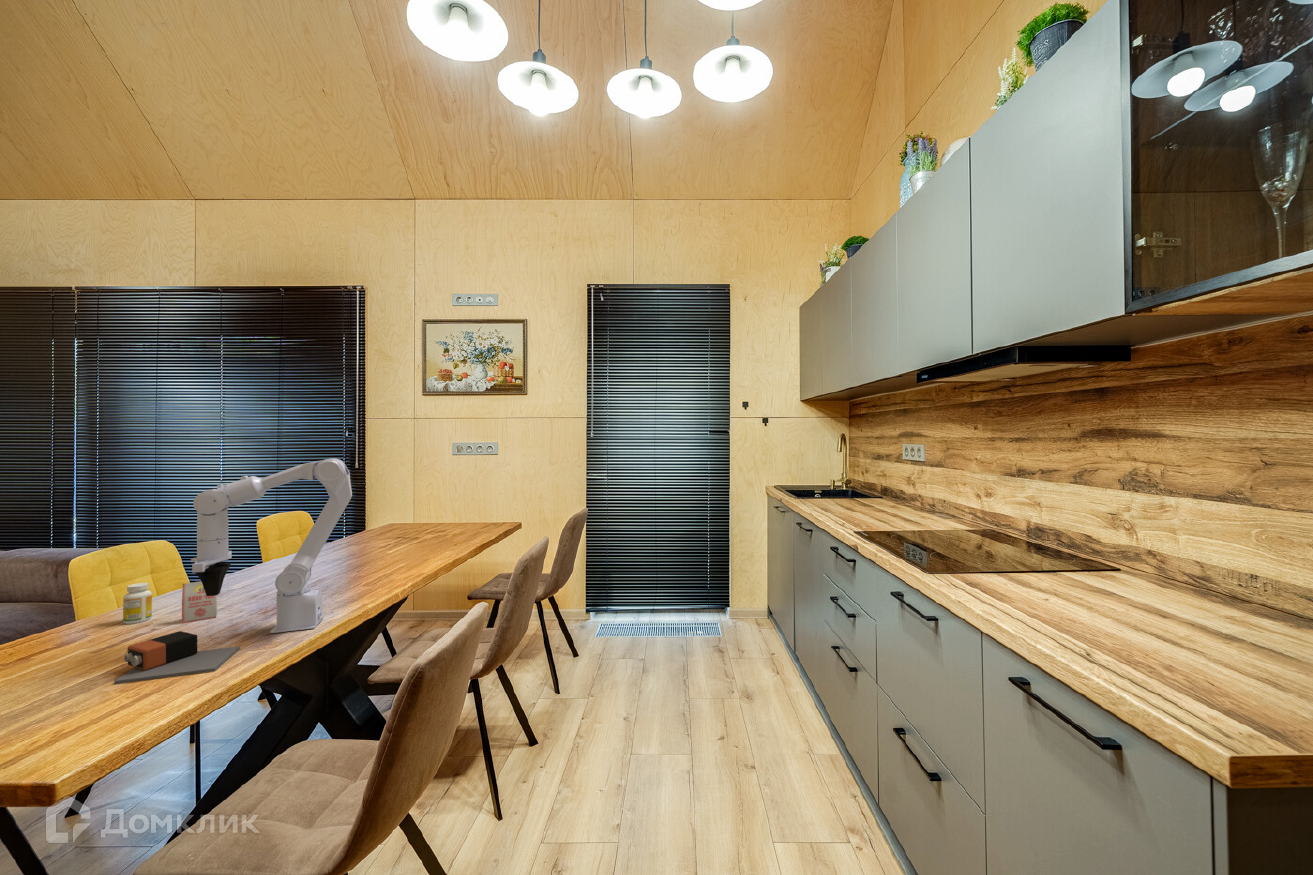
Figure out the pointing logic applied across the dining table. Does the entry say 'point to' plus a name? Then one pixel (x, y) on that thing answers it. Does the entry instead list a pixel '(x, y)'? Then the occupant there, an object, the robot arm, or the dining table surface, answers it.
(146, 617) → the supplement bottle
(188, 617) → the white carton box
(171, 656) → the battery
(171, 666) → the mat
